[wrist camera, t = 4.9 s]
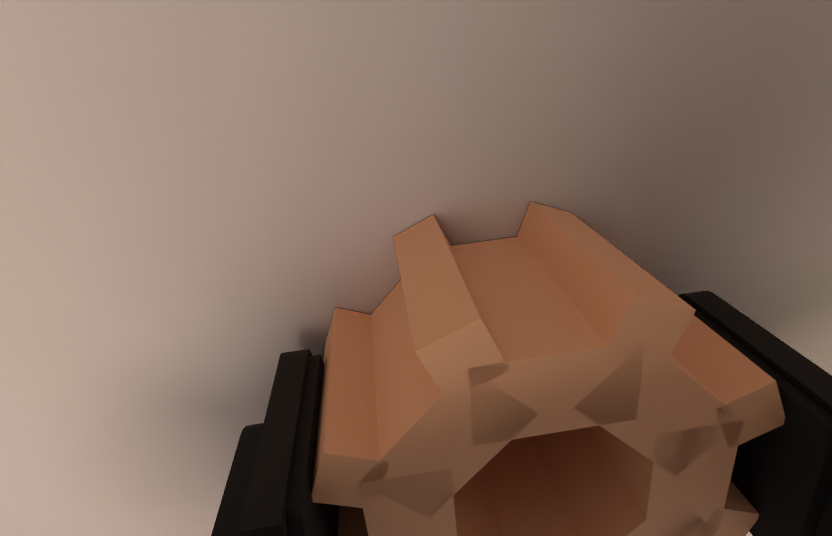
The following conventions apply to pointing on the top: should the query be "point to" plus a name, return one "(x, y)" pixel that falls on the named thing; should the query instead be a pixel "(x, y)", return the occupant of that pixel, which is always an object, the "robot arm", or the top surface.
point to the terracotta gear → (534, 396)
